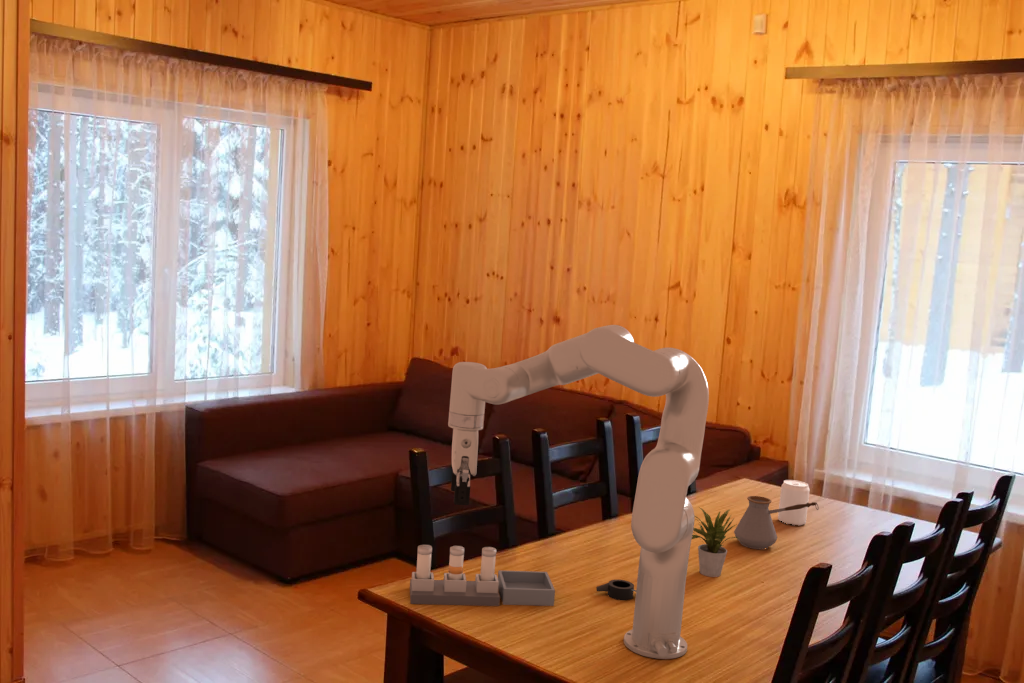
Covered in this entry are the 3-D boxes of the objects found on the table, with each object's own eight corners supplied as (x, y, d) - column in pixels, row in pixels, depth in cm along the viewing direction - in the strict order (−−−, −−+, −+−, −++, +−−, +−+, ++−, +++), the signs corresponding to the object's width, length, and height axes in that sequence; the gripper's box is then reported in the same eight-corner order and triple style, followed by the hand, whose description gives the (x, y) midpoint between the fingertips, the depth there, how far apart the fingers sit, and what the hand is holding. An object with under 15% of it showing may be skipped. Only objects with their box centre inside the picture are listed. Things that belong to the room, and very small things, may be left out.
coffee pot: (727, 545, 265) (733, 491, 263) (739, 535, 275) (745, 483, 273) (808, 563, 255) (814, 507, 253) (817, 552, 265) (823, 498, 263)
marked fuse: (462, 590, 212) (465, 550, 211) (447, 590, 212) (450, 550, 211) (461, 585, 215) (463, 546, 214) (446, 585, 215) (449, 545, 214)
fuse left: (429, 590, 211) (432, 549, 210) (415, 589, 211) (418, 549, 210) (429, 584, 214) (431, 545, 213) (414, 584, 214) (417, 544, 213)
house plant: (693, 557, 252) (699, 495, 250) (745, 570, 245) (752, 507, 243) (672, 572, 240) (679, 507, 238) (727, 586, 233) (734, 519, 231)
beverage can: (777, 523, 289) (781, 484, 287) (778, 516, 296) (782, 478, 295) (805, 528, 286) (810, 488, 285) (805, 520, 294) (810, 482, 293)
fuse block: (499, 606, 210) (500, 585, 210) (410, 603, 208) (411, 583, 207) (494, 590, 219) (496, 570, 219) (409, 587, 217) (411, 568, 216)
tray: (553, 605, 213) (555, 590, 212) (502, 604, 211) (504, 588, 211) (545, 586, 224) (547, 571, 223) (497, 585, 222) (498, 570, 222)
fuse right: (494, 591, 213) (497, 551, 212) (479, 591, 213) (482, 551, 211) (492, 586, 216) (495, 547, 215) (478, 586, 216) (481, 546, 214)
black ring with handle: (609, 586, 228) (610, 574, 228) (647, 598, 222) (648, 585, 222) (592, 594, 222) (593, 582, 221) (631, 607, 216) (632, 594, 216)
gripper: (487, 430, 201) (480, 510, 203) (480, 412, 218) (473, 487, 220) (451, 428, 200) (444, 509, 202) (446, 410, 217) (440, 485, 219)
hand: (459, 497), depth 211 cm, fingers open, 9 cm apart
